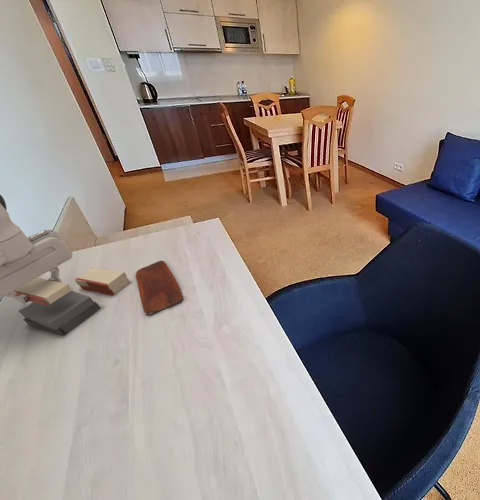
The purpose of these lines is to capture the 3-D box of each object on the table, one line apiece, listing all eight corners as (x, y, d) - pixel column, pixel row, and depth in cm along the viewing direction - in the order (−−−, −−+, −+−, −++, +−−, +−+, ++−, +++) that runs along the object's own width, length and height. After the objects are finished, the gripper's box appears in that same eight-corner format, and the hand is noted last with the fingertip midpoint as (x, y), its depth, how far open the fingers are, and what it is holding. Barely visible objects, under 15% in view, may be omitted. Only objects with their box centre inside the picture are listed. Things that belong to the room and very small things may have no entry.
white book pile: (81, 289, 93) (73, 279, 91) (101, 276, 99) (94, 266, 96) (112, 296, 90) (105, 286, 87) (131, 282, 95) (125, 272, 93)
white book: (13, 297, 78) (8, 291, 77) (39, 282, 83) (34, 276, 82) (47, 306, 74) (42, 300, 73) (72, 290, 79) (68, 284, 78)
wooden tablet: (185, 301, 86) (183, 296, 85) (146, 318, 81) (143, 314, 80) (167, 259, 104) (165, 255, 103) (134, 272, 99) (132, 268, 98)
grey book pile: (26, 326, 82) (13, 313, 79) (67, 299, 90) (57, 286, 87) (63, 337, 78) (51, 324, 75) (103, 307, 86) (93, 294, 83)
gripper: (44, 225, 79) (74, 266, 87) (-62, 272, 64) (-14, 318, 71) (60, 227, 78) (89, 269, 85) (-45, 276, 62) (3, 323, 70)
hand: (41, 292), depth 78 cm, fingers closed on white book, 6 cm apart
